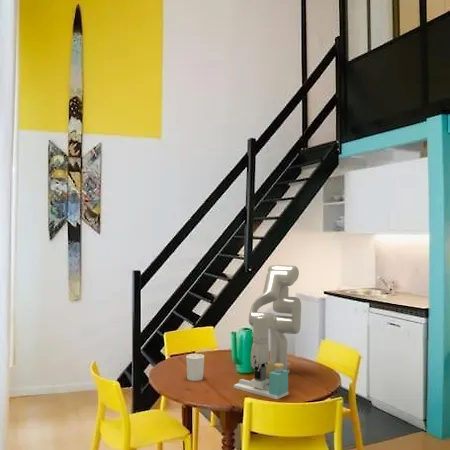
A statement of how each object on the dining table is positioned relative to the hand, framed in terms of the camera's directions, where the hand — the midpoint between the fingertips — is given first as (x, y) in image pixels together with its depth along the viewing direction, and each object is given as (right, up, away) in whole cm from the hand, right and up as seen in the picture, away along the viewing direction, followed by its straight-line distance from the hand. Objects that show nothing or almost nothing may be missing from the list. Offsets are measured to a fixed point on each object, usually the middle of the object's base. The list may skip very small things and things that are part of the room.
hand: (260, 377), depth 248 cm
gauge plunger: (+8, +2, -7) cm, 11 cm away
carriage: (0, -5, 0) cm, 5 cm away
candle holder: (-33, -7, +19) cm, 39 cm away
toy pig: (+4, -7, +16) cm, 18 cm away
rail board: (0, -7, 0) cm, 7 cm away
